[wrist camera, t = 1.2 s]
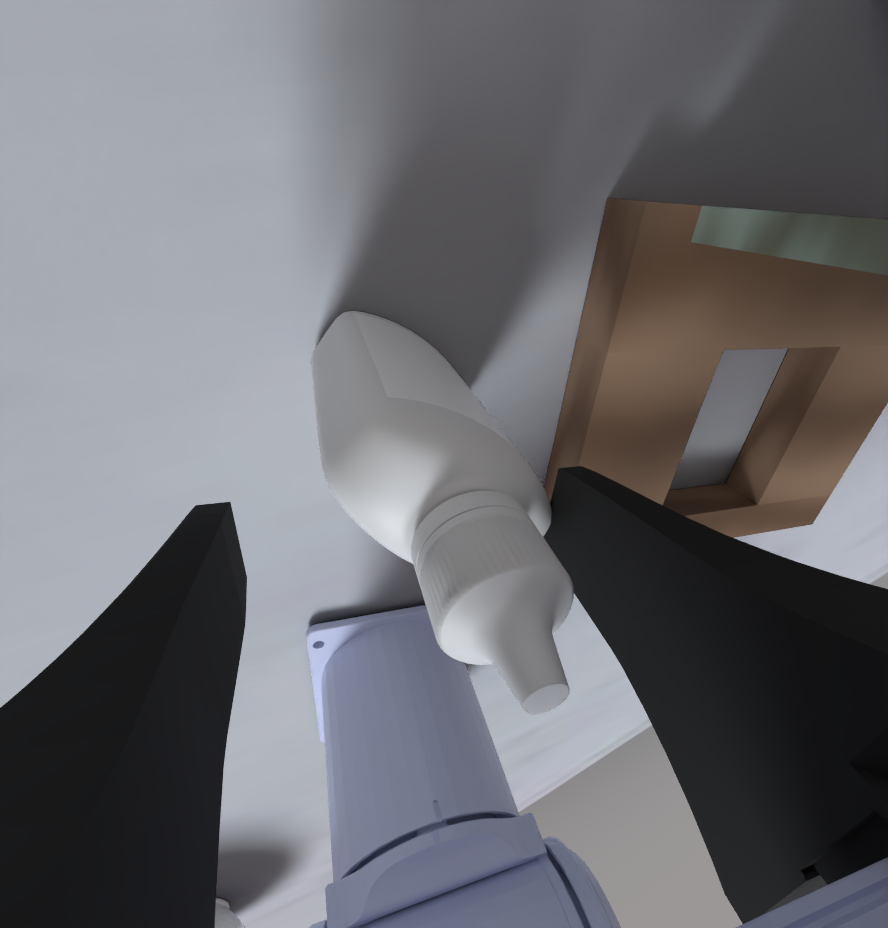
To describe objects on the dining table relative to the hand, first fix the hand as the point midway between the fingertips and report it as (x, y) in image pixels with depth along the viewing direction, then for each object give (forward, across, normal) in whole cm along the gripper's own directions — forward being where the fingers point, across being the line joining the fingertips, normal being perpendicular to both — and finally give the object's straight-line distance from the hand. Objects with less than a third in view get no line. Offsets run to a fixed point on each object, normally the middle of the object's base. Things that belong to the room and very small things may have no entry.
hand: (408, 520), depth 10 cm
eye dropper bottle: (+7, -1, -1) cm, 7 cm away
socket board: (+7, -16, +2) cm, 18 cm away
